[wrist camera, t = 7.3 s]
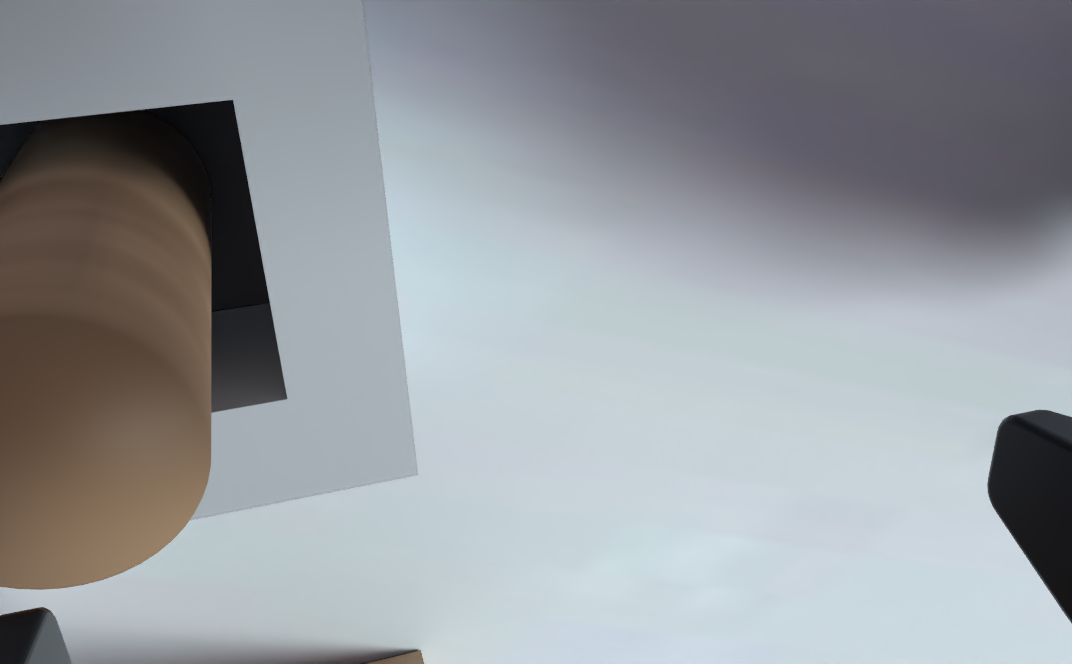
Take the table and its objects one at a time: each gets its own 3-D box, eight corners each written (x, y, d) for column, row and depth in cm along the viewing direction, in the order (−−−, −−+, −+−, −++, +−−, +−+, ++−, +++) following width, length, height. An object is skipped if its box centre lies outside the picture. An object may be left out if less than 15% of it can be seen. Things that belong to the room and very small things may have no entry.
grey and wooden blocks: (326, -82, 17) (434, 0, 9) (426, 693, 26) (530, 1111, 17) (-268, -40, 15) (-853, 116, 7) (51, 787, 24) (-37, 1313, 15)
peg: (226, 267, 20) (236, 552, 12) (39, 295, 19) (-81, 619, 11) (191, 93, 18) (177, 289, 10) (-14, 115, 17) (-198, 345, 9)
